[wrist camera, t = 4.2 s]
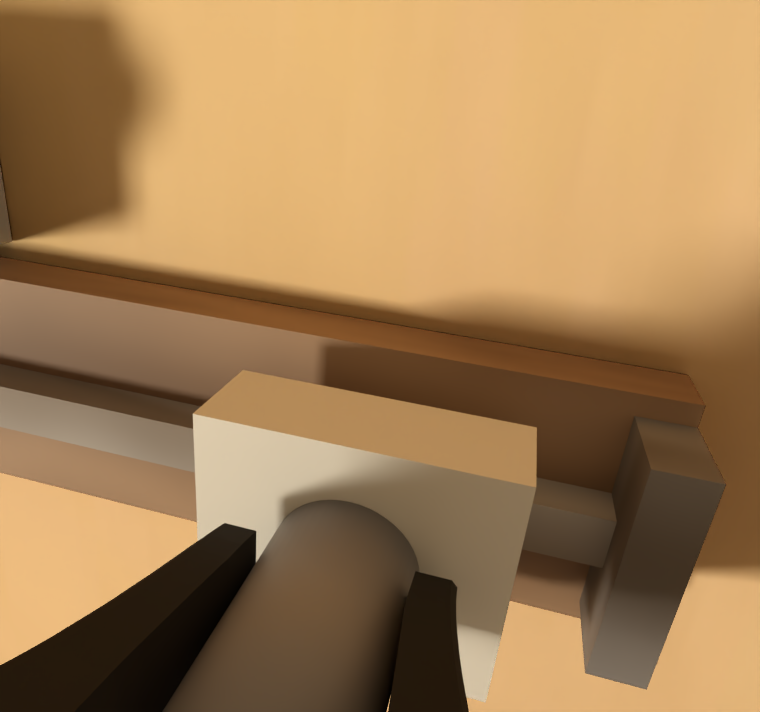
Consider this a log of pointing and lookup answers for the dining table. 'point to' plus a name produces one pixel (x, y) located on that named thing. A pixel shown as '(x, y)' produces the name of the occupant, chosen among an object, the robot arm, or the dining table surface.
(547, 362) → the rail board
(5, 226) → the box
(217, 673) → the carriage
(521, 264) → the dining table surface
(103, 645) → the robot arm
